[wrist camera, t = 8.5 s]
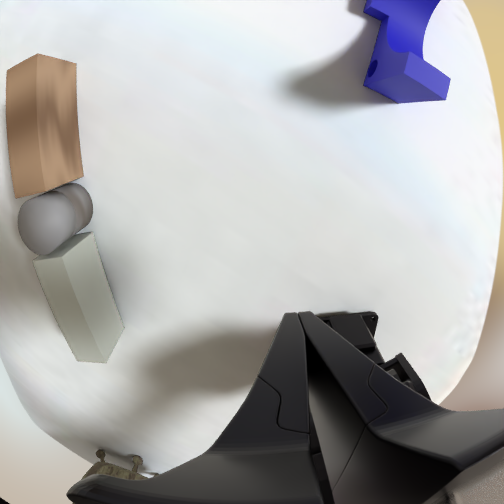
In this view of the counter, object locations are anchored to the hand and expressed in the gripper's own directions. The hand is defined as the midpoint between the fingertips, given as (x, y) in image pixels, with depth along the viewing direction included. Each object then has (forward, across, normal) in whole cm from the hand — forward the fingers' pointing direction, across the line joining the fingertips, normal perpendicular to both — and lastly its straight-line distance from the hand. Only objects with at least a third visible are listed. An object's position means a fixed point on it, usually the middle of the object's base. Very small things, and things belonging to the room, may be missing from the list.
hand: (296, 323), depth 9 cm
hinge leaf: (+12, +15, +3) cm, 19 cm away
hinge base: (+12, +15, -7) cm, 20 cm away
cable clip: (+12, -10, -15) cm, 21 cm away
